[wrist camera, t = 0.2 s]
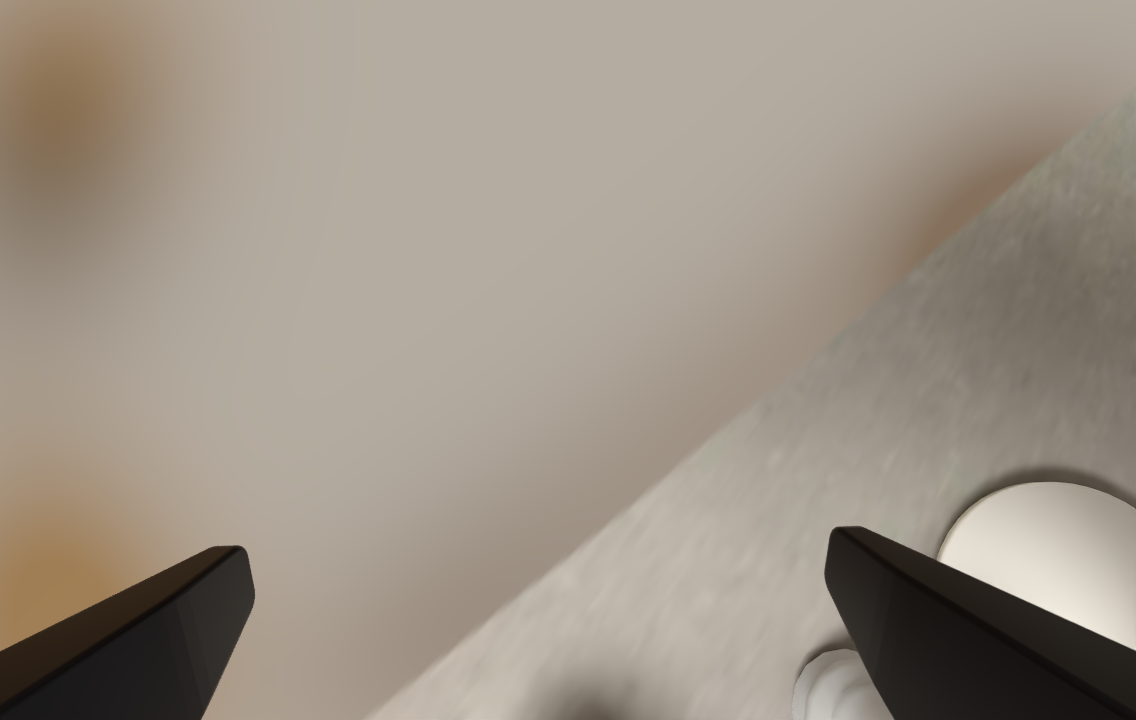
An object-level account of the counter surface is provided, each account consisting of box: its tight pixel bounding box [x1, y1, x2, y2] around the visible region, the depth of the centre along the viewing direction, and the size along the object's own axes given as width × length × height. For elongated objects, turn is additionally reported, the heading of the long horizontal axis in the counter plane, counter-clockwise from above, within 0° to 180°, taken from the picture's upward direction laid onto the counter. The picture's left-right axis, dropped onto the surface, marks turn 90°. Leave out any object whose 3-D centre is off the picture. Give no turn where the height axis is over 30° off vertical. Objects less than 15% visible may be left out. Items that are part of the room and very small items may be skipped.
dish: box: [936, 482, 1136, 650], centre depth 21 cm, size 11×11×1 cm
